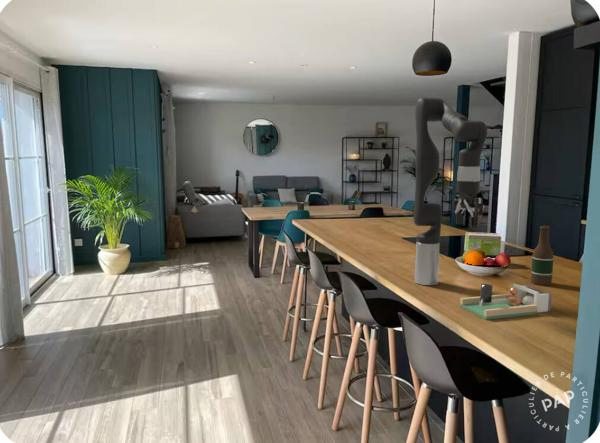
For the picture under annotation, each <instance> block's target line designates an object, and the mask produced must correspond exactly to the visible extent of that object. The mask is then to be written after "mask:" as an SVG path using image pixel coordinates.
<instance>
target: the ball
mask: <svg viewBox="0 0 600 443" xmlns="http://www.w3.org/2000/svg"><path fill="white" fill-rule="evenodd" d="M522 302H523V303H522V305H533V302H534V298H533V297H532V296H525V297H524V298H523V300H522Z"/></svg>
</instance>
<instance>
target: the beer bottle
mask: <svg viewBox="0 0 600 443" xmlns="http://www.w3.org/2000/svg"><path fill="white" fill-rule="evenodd" d="M539 229H540V230H539V237H538V243H537V246H536V247H535V248H534V249H533V252H532V254H531V255H532V256H531V257H532V258H531V270H530V271H531V272H530V282H531V284H533V285H537V286H541V287H543V286H544V287H545V286H547V287H548V286H551V285H552V283H553V270H554V257H555V256H554V250H553V249H552V248H551V246H550V230H551V227H550V226H549V225H541V226H540V227H539Z"/></svg>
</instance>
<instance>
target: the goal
mask: <svg viewBox="0 0 600 443" xmlns="http://www.w3.org/2000/svg"><path fill="white" fill-rule="evenodd" d="M513 287H514V288H516V289H517V290H518V293H517V294H516V295H517V296H519V297H521V298H520V304H523V302H522V300H523V298H524V297H525V296H532V297H533V298H534V302H533V304H536V305H538V309H537V313H545V312H551V311H552V310H551V309H552V297H553V296H552V295H553V294H552V293H550V292H548V291H545V290H542V289H539V288H536V287H533V286H530V285H528V284H527V285H521V284H517V283H513V284H512V288H513Z"/></svg>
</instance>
